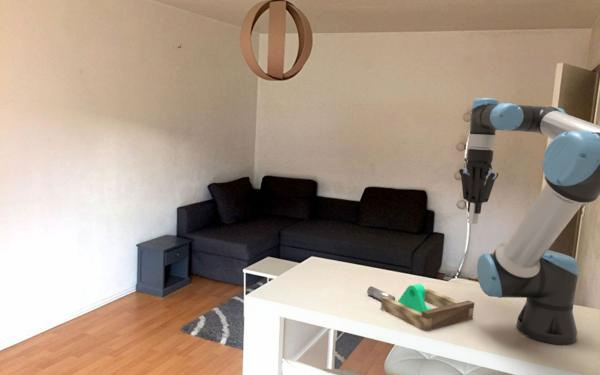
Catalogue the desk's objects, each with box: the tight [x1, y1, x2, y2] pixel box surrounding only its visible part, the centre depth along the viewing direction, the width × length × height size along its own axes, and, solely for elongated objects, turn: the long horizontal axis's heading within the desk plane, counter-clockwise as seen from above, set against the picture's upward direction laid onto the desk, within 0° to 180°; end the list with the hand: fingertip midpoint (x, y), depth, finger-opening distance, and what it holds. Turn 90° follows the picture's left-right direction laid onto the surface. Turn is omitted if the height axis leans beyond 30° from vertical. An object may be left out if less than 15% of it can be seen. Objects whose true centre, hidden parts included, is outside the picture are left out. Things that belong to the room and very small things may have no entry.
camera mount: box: [397, 283, 432, 313], centre depth 140 cm, size 12×8×10 cm, turn 33°
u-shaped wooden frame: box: [380, 288, 475, 332], centre depth 144 cm, size 18×20×5 cm
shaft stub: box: [366, 286, 396, 302], centre depth 154 cm, size 10×3×3 cm
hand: (472, 223), depth 152 cm, fingers closed
